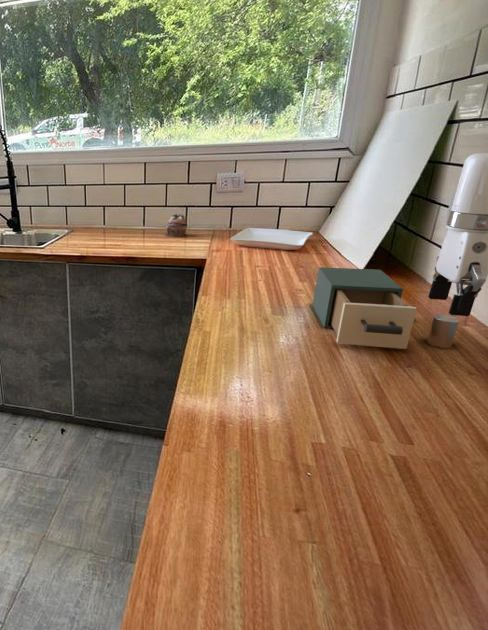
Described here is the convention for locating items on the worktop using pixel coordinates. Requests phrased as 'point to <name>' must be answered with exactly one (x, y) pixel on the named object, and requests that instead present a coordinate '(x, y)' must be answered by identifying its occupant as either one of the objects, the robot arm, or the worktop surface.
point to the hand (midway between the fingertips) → (447, 306)
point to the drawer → (371, 318)
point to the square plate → (271, 238)
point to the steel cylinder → (442, 331)
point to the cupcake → (176, 226)
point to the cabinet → (347, 287)
